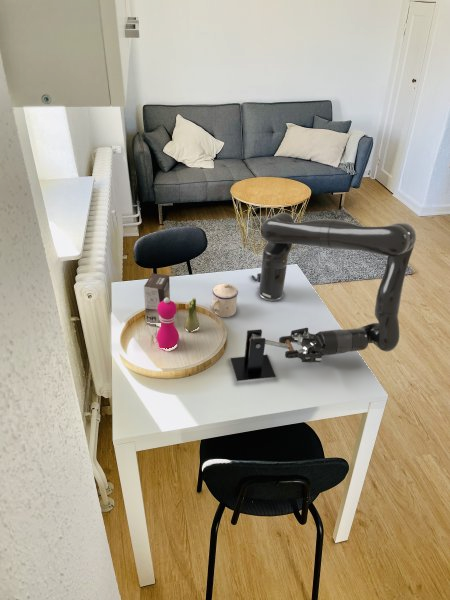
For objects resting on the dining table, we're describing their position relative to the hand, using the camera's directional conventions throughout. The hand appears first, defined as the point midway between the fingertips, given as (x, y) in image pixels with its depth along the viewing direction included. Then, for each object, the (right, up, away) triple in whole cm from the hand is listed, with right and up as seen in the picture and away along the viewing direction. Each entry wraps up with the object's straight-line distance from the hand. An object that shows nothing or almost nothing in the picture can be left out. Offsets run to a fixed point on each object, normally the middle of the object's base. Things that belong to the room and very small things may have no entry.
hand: (282, 347), depth 139 cm
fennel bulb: (-29, +4, +18) cm, 34 cm away
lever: (-4, +1, -1) cm, 4 cm away
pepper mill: (-36, -1, +10) cm, 38 cm away
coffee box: (-41, +8, +22) cm, 48 cm away
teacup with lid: (-19, +10, +27) cm, 35 cm away
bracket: (-9, -7, +3) cm, 12 cm away
